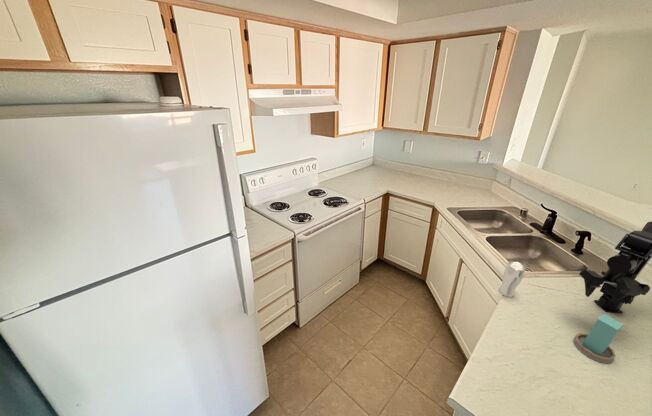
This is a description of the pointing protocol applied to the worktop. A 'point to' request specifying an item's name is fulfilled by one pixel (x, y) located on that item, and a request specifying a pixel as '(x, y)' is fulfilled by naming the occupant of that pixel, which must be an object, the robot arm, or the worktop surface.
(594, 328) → the teal rectangular block
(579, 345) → the groove tray
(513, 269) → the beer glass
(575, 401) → the worktop surface
